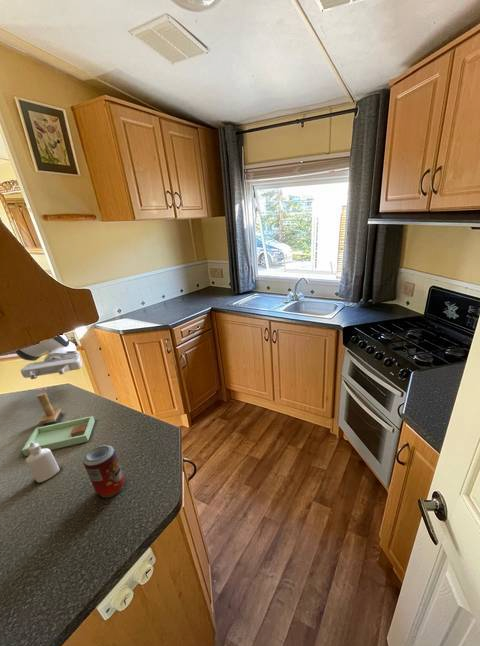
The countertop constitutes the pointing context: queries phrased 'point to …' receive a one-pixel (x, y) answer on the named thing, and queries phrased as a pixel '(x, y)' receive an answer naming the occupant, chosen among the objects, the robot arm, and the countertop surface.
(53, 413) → the brush
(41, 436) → the tray
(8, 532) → the countertop surface
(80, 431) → the wooden block
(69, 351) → the robot arm
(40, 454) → the eye dropper bottle
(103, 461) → the soda can
